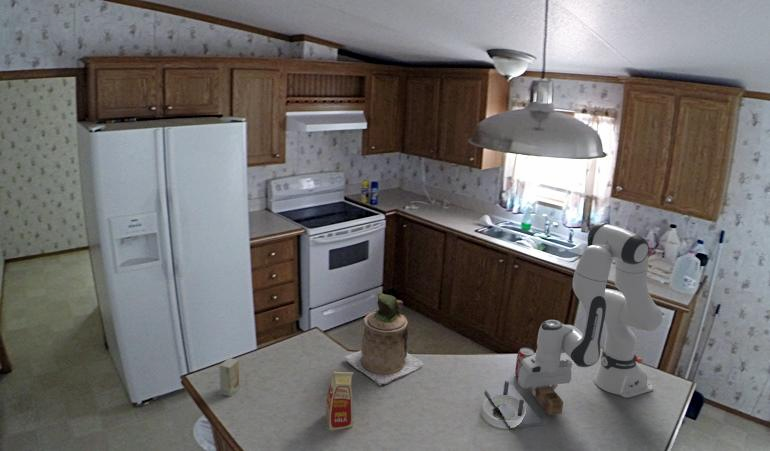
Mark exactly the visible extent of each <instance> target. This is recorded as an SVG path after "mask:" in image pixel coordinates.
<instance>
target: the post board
mask: <svg viewBox="0 0 770 451" xmlns="http://www.w3.org/2000/svg"><path fill="white" fill-rule="evenodd" d="M503 384H504V386H502V387H495V388H493V387H492V388H485V390H484V393H486V395H487V397H488V398H489V397H492V396H495V395H511V396H513V397H516V398H517V399H519V407H518V414H517V415H518V416H521V415H522V411H523V404H524V405H525V407H526V414H525V416H524V418H523V420H522V422H521V423H520V424H519V425H517V426H516V427H515V428H514V429H520V428H526V427H535V426H542V420H541V419H540V418H539V417H538V416H537V415H536V413H535V411H533V409H532V408H531V407H530V406H529V404H528V403H527V401H526V400H525V399H524V397H523V396H522V395H521V394H520V392H519V391H518V390H517V388H515V386H514V385H512V386H510V381H509V380H504V383H503ZM498 408H499V410H500V412H501V413H502V415H503V416H504V418H505V419H506V420H508V419H511V418H513V417H514V416H515V413H514V411H515V410H514V409H513V407H511V406H509V405H507V404H505V403H502V404H501V405H500V406H499V407H498Z"/></svg>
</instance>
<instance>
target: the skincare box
mask: <svg viewBox="0 0 770 451" xmlns="http://www.w3.org/2000/svg"><path fill="white" fill-rule="evenodd" d="M239 366H240V365H239V359H235V358H231V357H228V358H227V359H225V361H223V362H222V363H221V364H220V365H219V382H220V383H219V384H220V385H219V386H220V395H223V396H226V397H232V396H233V395H234V394H235V393H236V392H237V391H238V390H239V389H240V372H239V371H240V368H239Z"/></svg>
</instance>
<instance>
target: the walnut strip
mask: <svg viewBox="0 0 770 451" xmlns="http://www.w3.org/2000/svg"><path fill="white" fill-rule="evenodd" d="M528 389H529V391H530V393H532V391H533V390H532V388H531V387H530V388H528ZM536 390H537V391H538V395H537V396H534V397H535V399H536V400H537V401H538V402H539V404H540V405H541V406H542V408H543V409H544V410H545V412H546V413H547V415H549V416H553V415H554V416H555V415H561V414H562V413H563V410H564V409H563V408H564V400H563V399H562V398H561V397H560V396H559V395H558V393H557V392H556V391H555V390H553V389H552V387H551V385H547V386H539V387H536Z"/></svg>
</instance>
